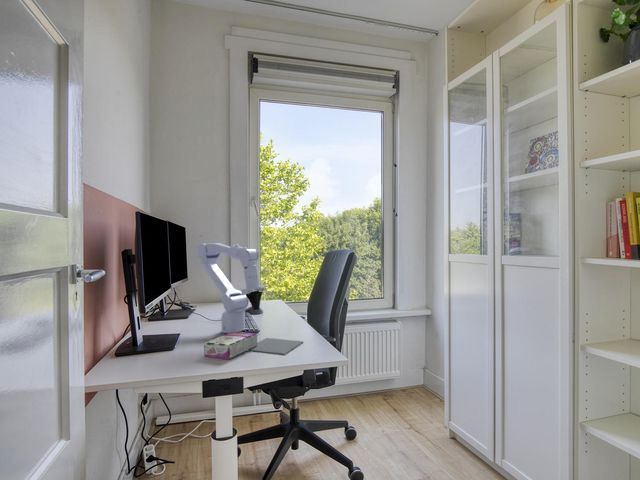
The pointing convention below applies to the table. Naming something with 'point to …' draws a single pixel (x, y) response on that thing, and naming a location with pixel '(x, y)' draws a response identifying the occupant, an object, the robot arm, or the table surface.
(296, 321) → the table surface
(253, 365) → the table surface
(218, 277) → the robot arm
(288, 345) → the charcoal mat
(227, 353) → the candy bar box
